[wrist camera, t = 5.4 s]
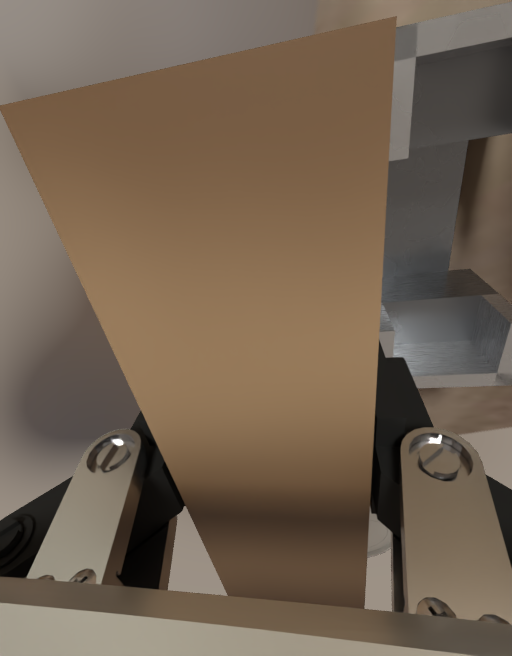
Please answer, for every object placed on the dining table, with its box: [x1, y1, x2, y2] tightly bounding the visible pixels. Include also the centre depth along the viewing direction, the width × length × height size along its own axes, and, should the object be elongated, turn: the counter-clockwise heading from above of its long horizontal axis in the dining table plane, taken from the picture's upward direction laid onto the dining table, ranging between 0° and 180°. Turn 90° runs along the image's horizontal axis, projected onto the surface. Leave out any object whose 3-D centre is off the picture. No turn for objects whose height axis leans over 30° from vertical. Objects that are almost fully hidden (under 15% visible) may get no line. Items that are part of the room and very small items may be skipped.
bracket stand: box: [379, 2, 512, 388], centre depth 20 cm, size 19×8×8 cm, turn 9°
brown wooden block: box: [0, 16, 397, 609], centre depth 9 cm, size 14×4×5 cm, turn 9°
